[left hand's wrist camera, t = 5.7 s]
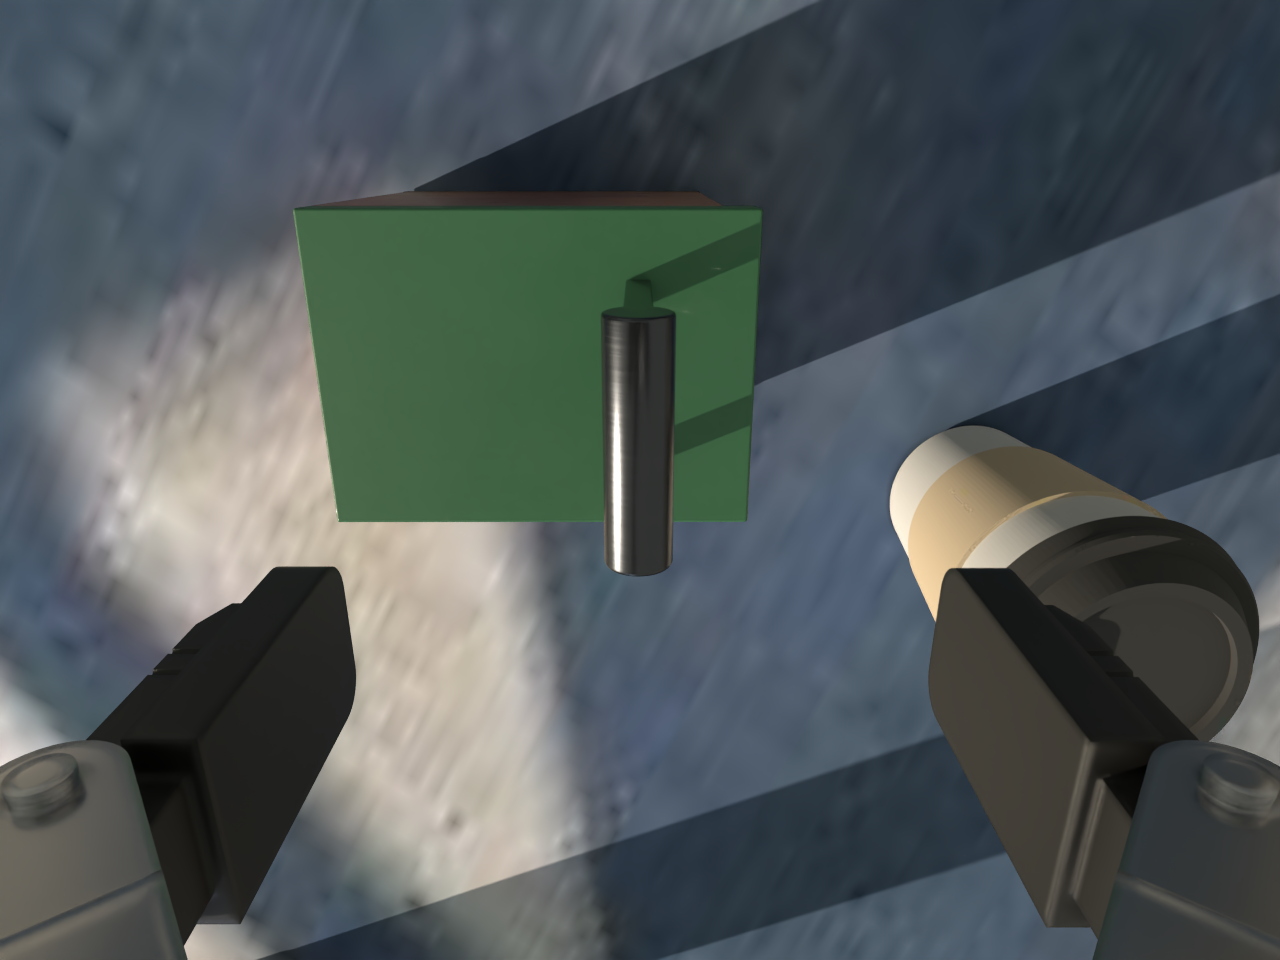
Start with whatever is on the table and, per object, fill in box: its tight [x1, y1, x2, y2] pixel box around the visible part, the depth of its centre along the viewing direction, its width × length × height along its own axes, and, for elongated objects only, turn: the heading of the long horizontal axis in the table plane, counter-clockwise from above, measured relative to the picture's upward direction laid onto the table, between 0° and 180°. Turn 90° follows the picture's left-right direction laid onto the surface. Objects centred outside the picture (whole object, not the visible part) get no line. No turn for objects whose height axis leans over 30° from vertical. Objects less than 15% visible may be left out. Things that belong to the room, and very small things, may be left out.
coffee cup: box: [890, 426, 1259, 742], centre depth 31 cm, size 9×9×15 cm
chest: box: [313, 191, 722, 206], centre depth 30 cm, size 12×9×11 cm
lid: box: [293, 206, 763, 576], centre depth 21 cm, size 13×9×8 cm
